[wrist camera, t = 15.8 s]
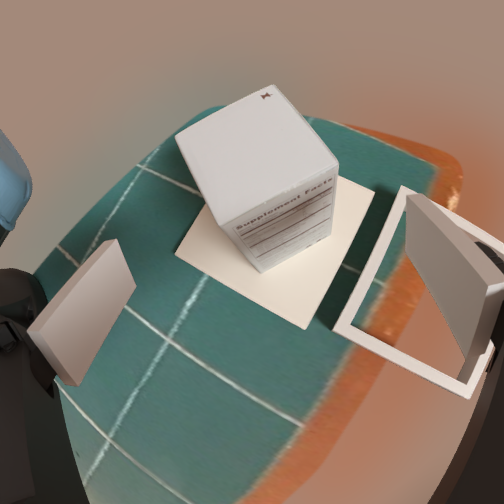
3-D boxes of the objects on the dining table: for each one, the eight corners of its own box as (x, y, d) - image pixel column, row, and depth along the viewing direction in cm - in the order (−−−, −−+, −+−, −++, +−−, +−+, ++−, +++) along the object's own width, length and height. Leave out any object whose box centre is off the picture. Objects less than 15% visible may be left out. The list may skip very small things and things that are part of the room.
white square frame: (331, 330, 26) (332, 330, 24) (395, 196, 28) (401, 185, 26) (457, 395, 22) (469, 399, 19) (508, 261, 24) (520, 255, 21)
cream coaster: (177, 256, 31) (174, 254, 30) (249, 143, 33) (247, 139, 32) (305, 330, 26) (304, 329, 26) (373, 196, 28) (375, 192, 28)
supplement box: (225, 210, 30) (170, 132, 18) (293, 173, 30) (275, 78, 18) (259, 277, 28) (215, 228, 16) (334, 237, 27) (343, 161, 15)
